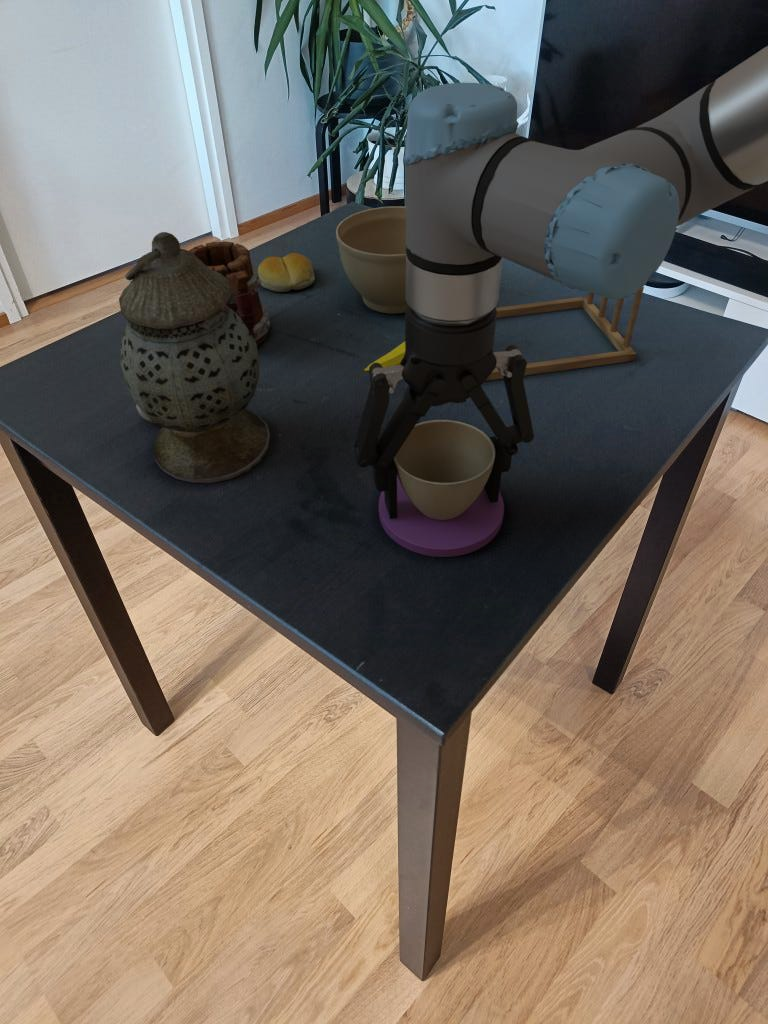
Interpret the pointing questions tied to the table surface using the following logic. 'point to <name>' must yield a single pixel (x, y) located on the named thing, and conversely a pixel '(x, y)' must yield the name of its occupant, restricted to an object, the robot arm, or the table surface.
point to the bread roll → (286, 273)
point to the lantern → (191, 366)
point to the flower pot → (444, 466)
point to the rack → (597, 316)
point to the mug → (238, 283)
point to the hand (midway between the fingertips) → (441, 501)
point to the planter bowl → (376, 256)
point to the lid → (442, 526)
